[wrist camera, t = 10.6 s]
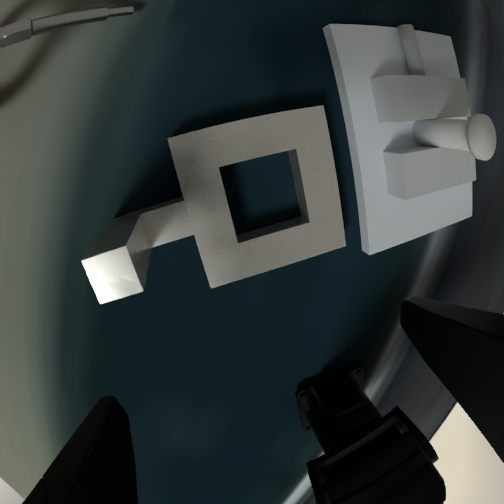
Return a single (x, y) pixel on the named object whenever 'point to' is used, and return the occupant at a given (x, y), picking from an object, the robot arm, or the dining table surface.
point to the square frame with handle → (217, 210)
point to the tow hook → (58, 22)
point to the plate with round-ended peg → (406, 130)
